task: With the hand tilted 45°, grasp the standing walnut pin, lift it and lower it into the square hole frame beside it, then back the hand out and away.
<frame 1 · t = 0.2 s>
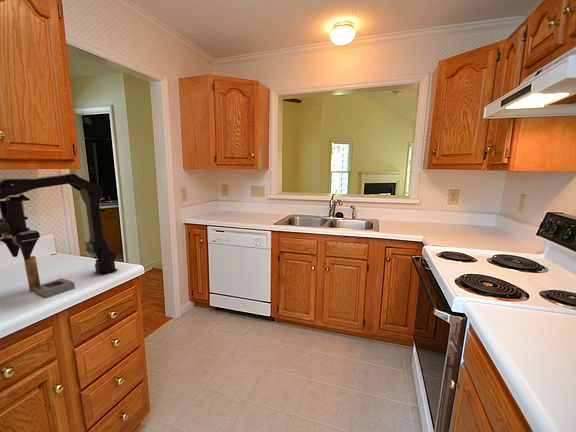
hand: (20, 258, 97), 15 cm above the table, tool pointing down, fingers open, 9 cm apart
walnut pin: (35, 289, 105), on the table
square hole frame: (55, 290, 104), on the table
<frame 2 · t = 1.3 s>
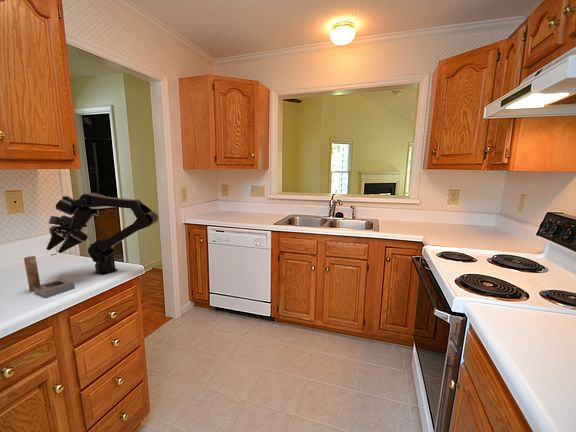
hand: (53, 251, 109), 13 cm above the table, tool tilted 45°, fingers open, 9 cm apart
nothing on the table moved.
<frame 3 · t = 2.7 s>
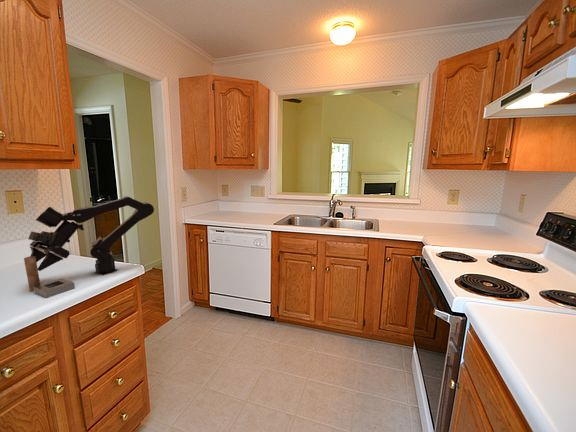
hand: (32, 268, 104), 8 cm above the table, tool tilted 45°, fingers open, 9 cm apart
nothing on the table moved.
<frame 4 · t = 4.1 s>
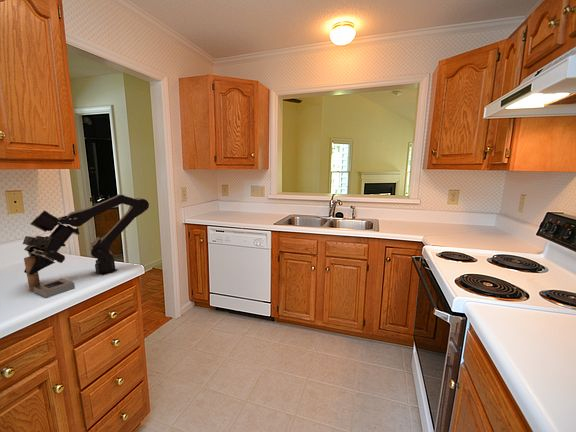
hand: (27, 273, 103), 7 cm above the table, tool tilted 45°, fingers closed on walnut pin, 3 cm apart
walnut pin: (35, 289, 105), on the table, touching gripper
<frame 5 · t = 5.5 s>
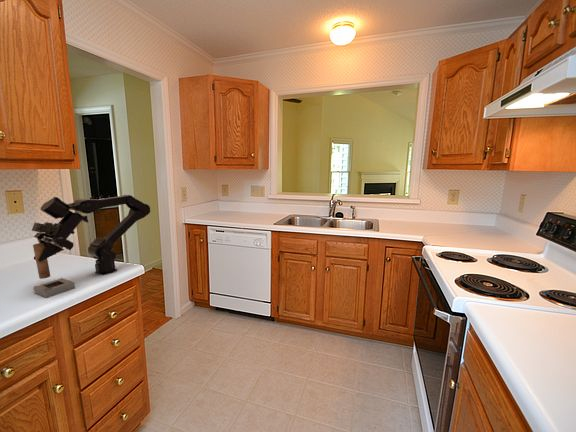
hand: (36, 260, 102), 12 cm above the table, tool tilted 45°, fingers closed on walnut pin, 3 cm apart
walnut pin: (45, 277, 104), point 5 cm above the table, touching gripper
when the fingers open (7 cm above the table, at t = 7.2 s): walnut pin stays where it is, resting in square hole frame.
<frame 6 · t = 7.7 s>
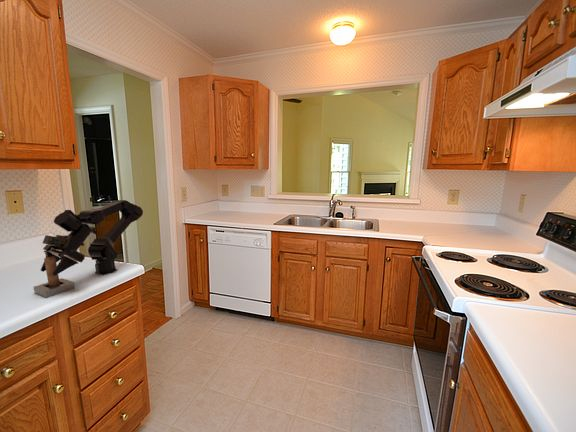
hand: (47, 273, 102), 8 cm above the table, tool tilted 45°, fingers open, 8 cm apart
walnut pin: (55, 290, 104), resting in square hole frame
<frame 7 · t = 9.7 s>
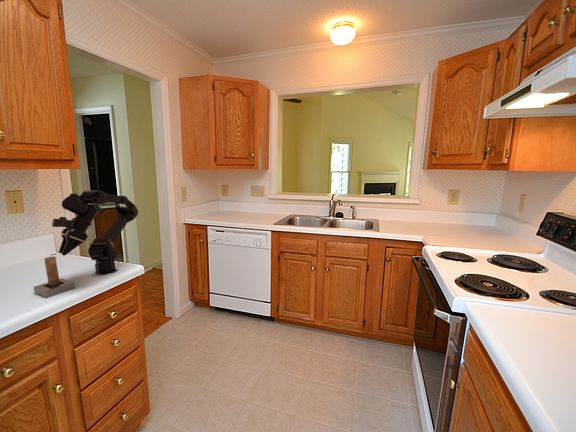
hand: (61, 254, 107), 13 cm above the table, tool tilted 35°, fingers open, 9 cm apart
nothing on the table moved.
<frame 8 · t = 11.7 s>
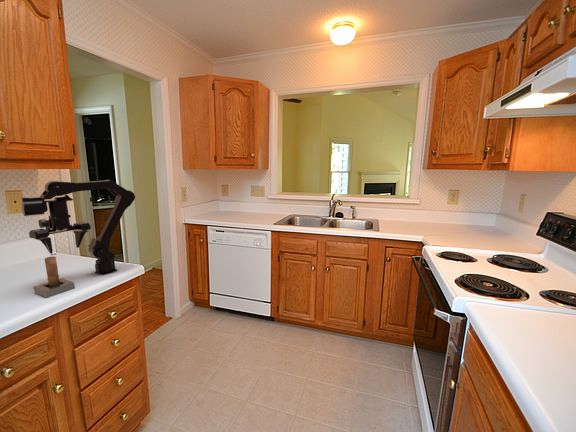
hand: (65, 250, 111), 13 cm above the table, tool pointing down, fingers open, 9 cm apart
nothing on the table moved.
at the end: walnut pin 0.1 cm from the square hole frame (horizontally); walnut pin tilted 0°; walnut pin resting in square hole frame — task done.
